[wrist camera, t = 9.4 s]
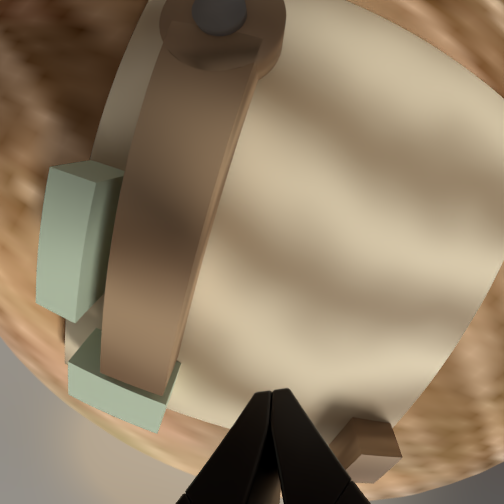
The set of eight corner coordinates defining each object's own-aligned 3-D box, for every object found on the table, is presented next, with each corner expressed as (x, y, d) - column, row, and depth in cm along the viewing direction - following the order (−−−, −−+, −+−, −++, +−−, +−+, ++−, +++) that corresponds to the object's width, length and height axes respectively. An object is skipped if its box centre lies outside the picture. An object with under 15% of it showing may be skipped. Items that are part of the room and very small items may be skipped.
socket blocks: (91, 160, 13) (50, 166, 10) (234, 209, 13) (224, 229, 10) (66, 346, 16) (39, 378, 13) (171, 393, 17) (157, 433, 14)
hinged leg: (201, -6, 10) (180, -46, 7) (294, 15, 10) (303, -26, 7) (114, 334, 15) (84, 376, 12) (187, 359, 15) (170, 409, 12)
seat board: (178, -32, 11) (153, -75, 7) (532, 137, 12) (581, 143, 8) (73, 352, 18) (41, 392, 14) (364, 442, 19) (375, 487, 15)
